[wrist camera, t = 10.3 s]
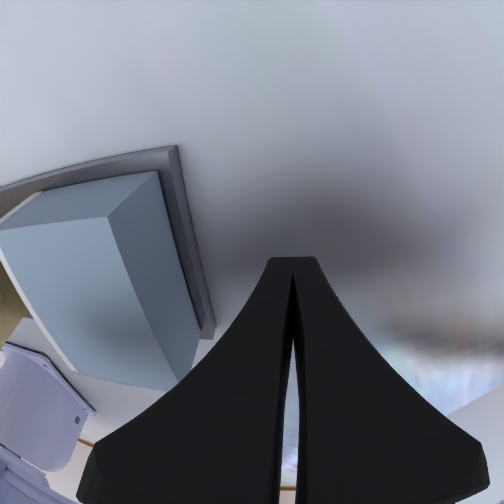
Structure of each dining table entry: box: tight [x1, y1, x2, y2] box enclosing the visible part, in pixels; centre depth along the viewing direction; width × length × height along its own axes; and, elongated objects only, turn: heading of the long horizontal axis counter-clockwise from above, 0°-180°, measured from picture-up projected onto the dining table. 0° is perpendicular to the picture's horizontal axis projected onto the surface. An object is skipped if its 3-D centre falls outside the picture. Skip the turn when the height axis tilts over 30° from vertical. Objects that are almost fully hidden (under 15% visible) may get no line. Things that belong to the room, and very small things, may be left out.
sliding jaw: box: [0, 171, 201, 391], centre depth 9 cm, size 7×6×3 cm
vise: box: [0, 145, 216, 340], centre depth 11 cm, size 8×18×4 cm, turn 96°
